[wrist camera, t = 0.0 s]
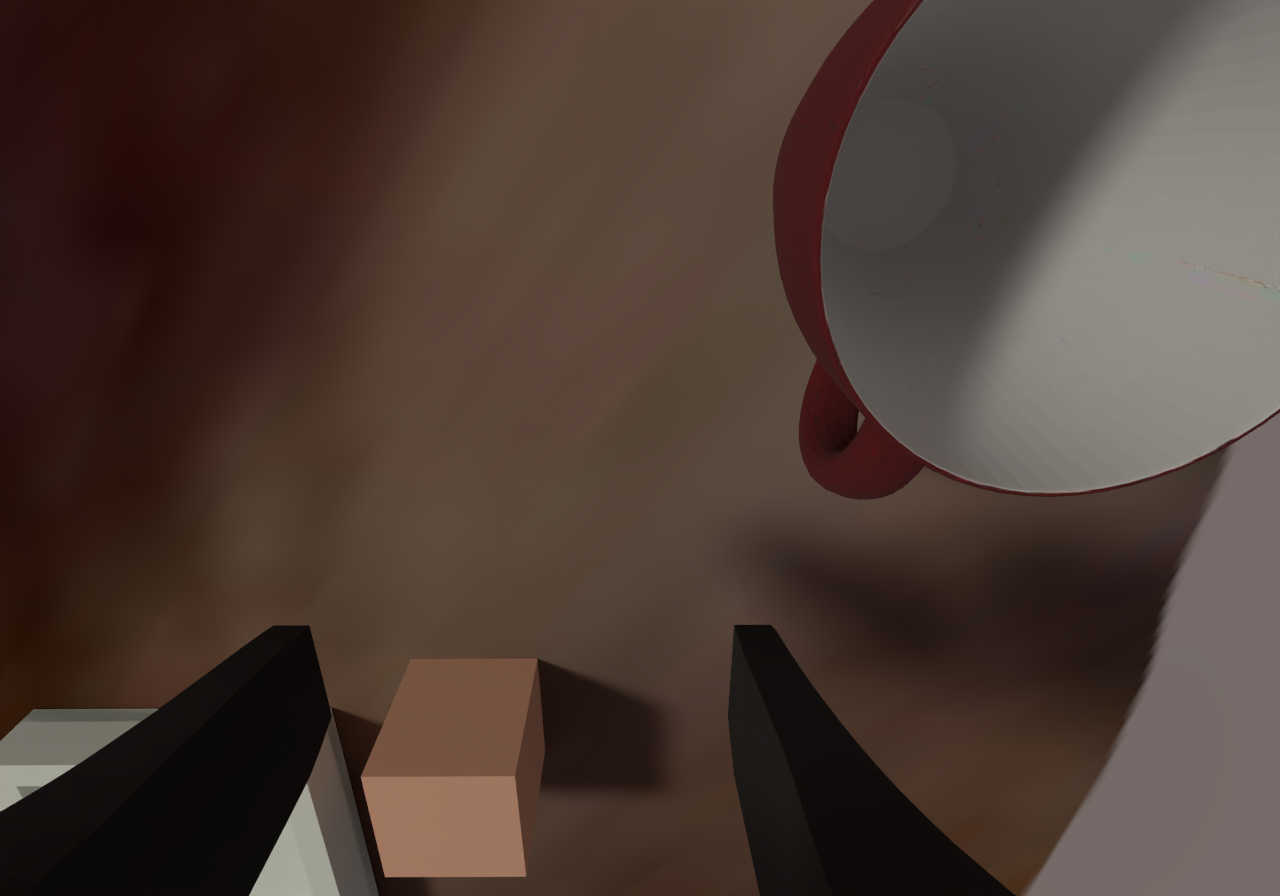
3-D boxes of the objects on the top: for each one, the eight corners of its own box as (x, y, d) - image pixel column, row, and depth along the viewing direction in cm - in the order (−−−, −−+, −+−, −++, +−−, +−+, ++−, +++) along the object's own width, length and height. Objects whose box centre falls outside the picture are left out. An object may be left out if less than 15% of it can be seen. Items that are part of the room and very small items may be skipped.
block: (545, 749, 27) (526, 876, 22) (428, 749, 27) (384, 877, 22) (537, 657, 25) (514, 776, 20) (411, 658, 25) (360, 776, 20)
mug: (943, 427, 21) (1176, 656, 12) (681, 387, 20) (714, 595, 11) (1093, 27, 17) (1640, -95, 8) (764, -37, 16) (927, -252, 7)
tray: (383, 912, 31) (362, 975, 28) (134, 913, 31) (93, 975, 28) (331, 707, 26) (301, 764, 23) (34, 709, 26) (-25, 765, 23)
